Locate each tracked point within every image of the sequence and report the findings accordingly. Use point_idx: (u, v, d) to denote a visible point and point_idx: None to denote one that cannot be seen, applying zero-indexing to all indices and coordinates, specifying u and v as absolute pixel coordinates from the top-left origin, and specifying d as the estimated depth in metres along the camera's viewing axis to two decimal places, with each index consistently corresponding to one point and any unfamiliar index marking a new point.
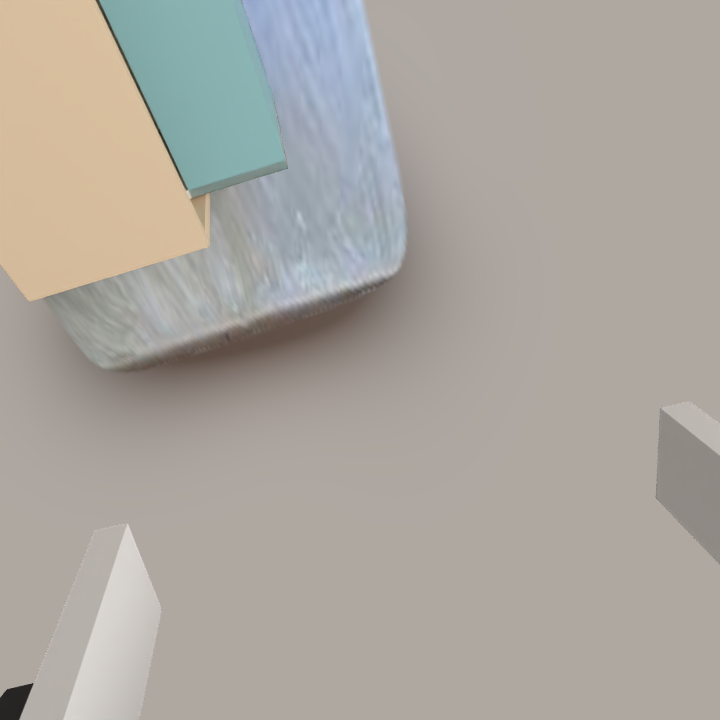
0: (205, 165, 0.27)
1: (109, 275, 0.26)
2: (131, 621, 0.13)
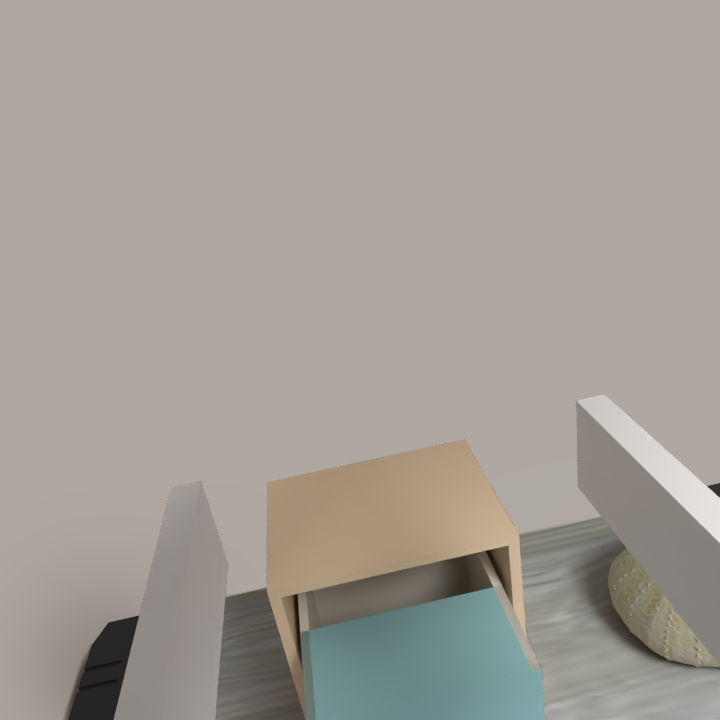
0: (329, 646, 0.27)
1: (268, 524, 0.30)
2: (209, 569, 0.14)
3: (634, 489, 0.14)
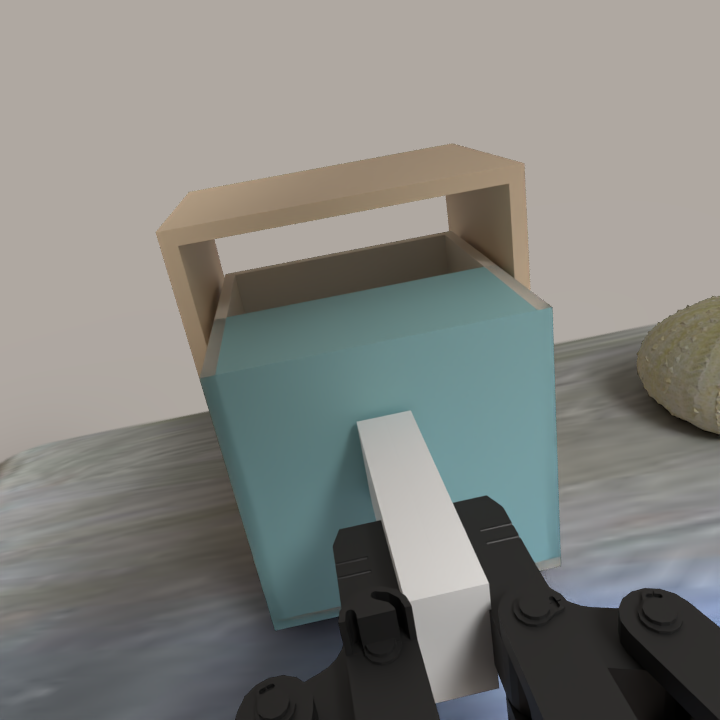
0: (250, 324, 0.19)
1: (178, 206, 0.22)
2: None
3: None
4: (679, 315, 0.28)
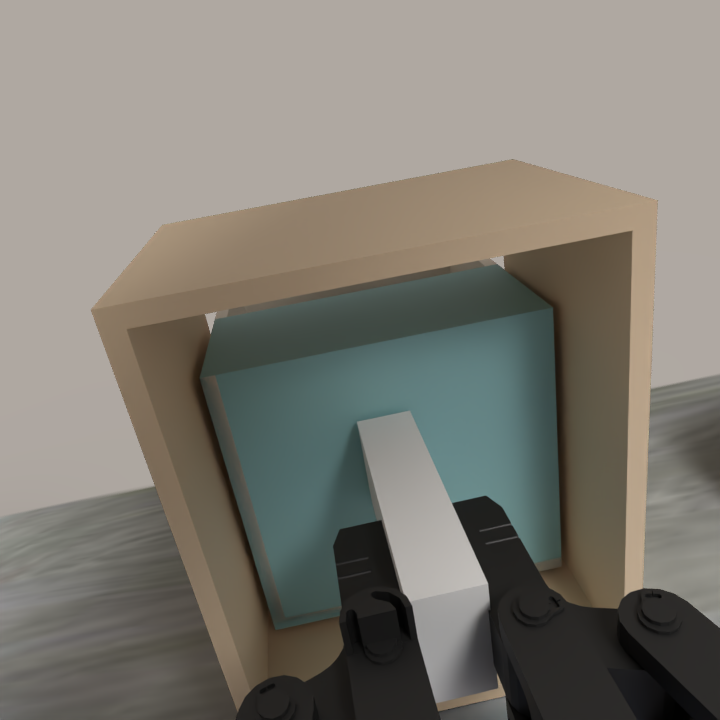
0: (251, 324, 0.19)
1: (141, 252, 0.15)
2: None
3: None
4: None
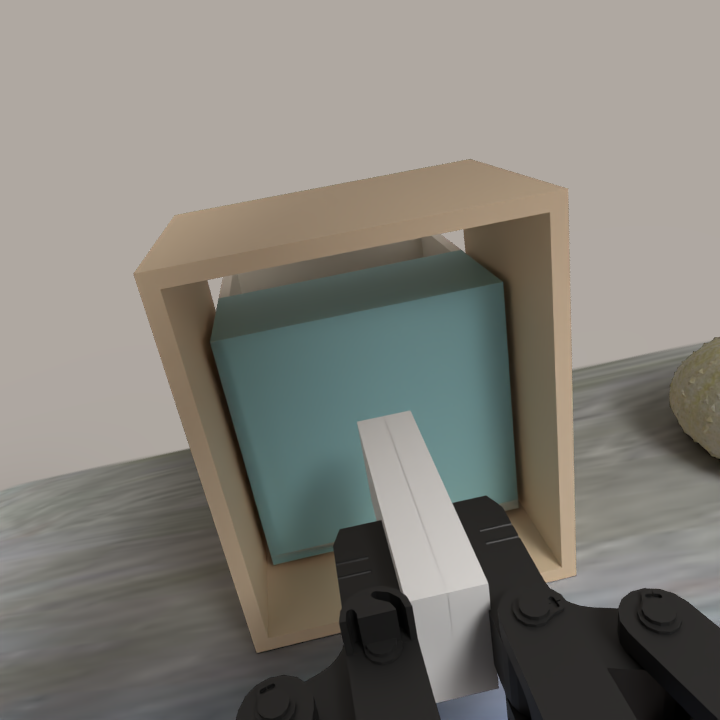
0: (250, 301, 0.22)
1: (162, 235, 0.19)
2: None
3: None
4: (718, 345, 0.25)
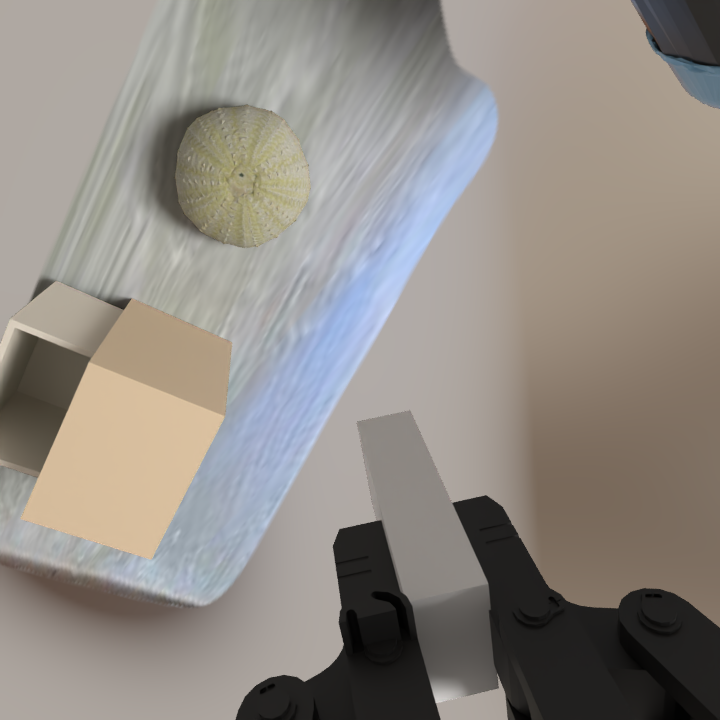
0: None
1: (82, 537, 0.38)
2: None
3: None
4: (203, 206, 0.40)
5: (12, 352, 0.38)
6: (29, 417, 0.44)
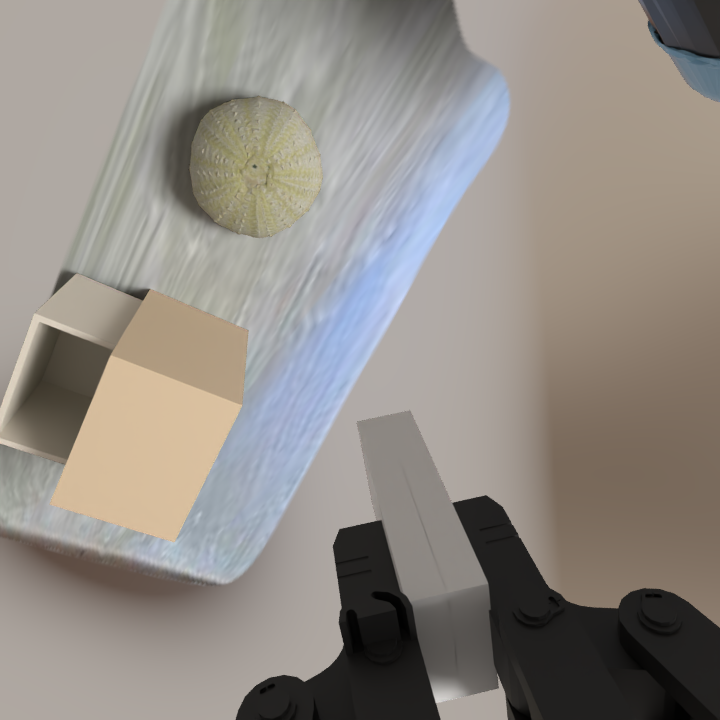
0: None
1: (108, 521, 0.39)
2: None
3: None
4: (218, 198, 0.41)
5: (37, 344, 0.39)
6: (55, 405, 0.45)
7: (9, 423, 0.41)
